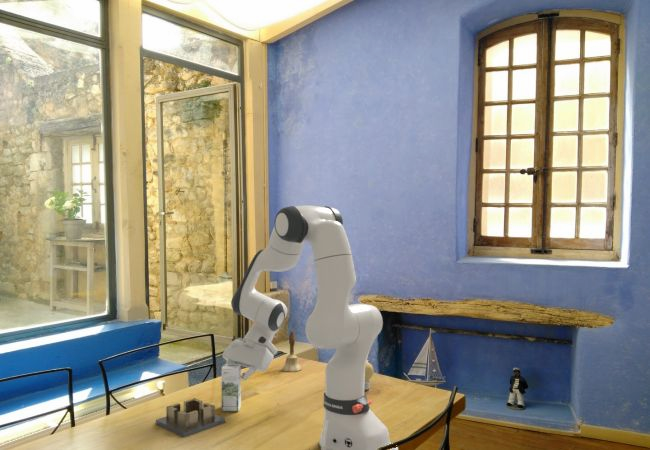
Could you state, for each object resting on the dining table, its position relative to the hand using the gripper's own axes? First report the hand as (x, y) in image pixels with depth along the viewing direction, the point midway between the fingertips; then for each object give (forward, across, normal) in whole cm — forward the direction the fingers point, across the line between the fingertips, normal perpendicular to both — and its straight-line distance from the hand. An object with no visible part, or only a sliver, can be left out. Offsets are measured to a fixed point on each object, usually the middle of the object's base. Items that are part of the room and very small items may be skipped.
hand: (234, 376), depth 177 cm
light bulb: (-24, +21, +39) cm, 51 cm away
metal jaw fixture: (+20, 0, -5) cm, 20 cm away
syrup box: (+9, 0, +7) cm, 11 cm away
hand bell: (-24, -17, +39) cm, 49 cm away
